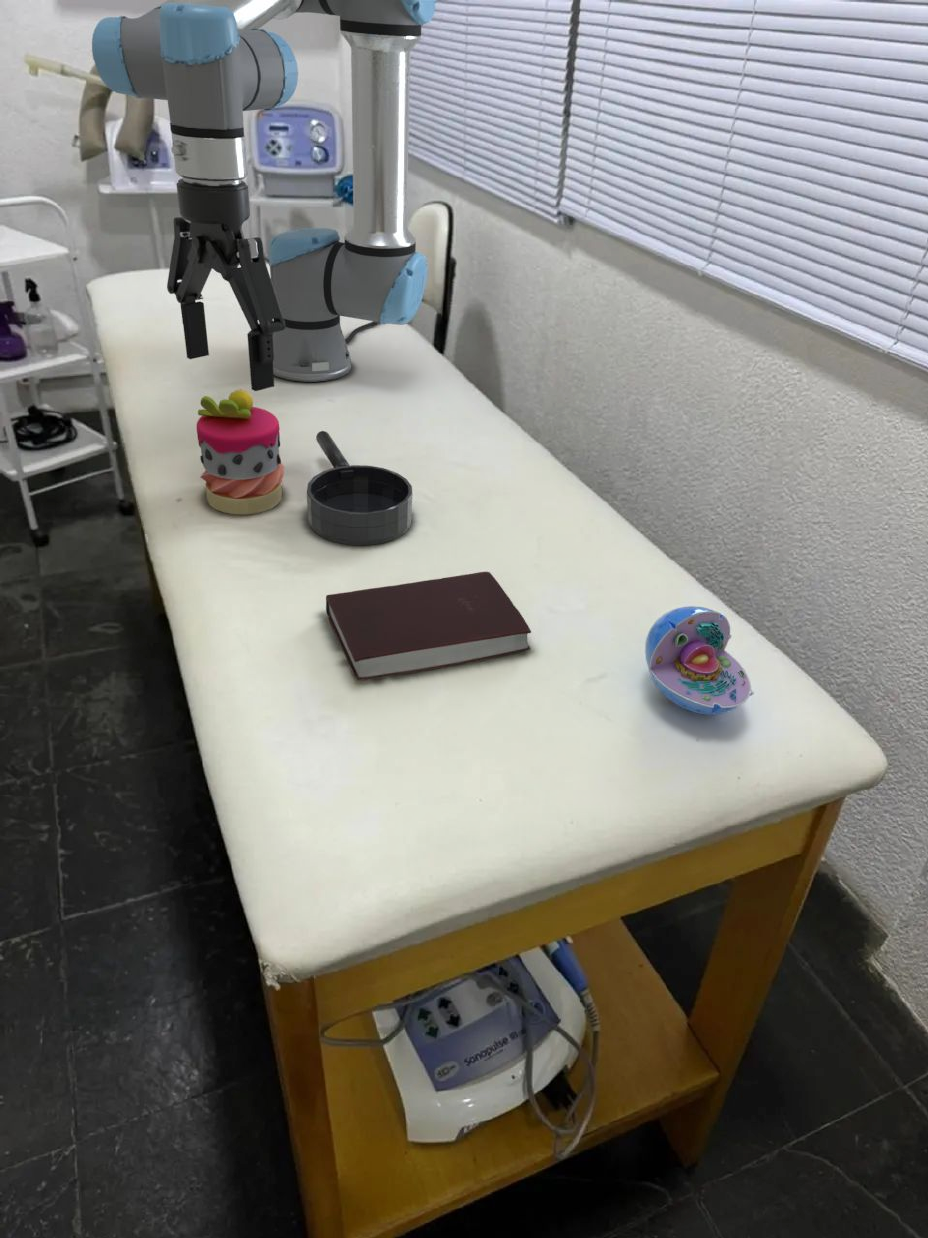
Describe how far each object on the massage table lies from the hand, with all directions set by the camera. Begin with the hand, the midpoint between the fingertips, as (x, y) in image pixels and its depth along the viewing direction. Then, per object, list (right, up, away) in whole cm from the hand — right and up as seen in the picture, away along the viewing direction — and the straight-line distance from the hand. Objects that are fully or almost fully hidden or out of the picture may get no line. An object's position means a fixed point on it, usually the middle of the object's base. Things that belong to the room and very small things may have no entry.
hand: (229, 371), depth 104 cm
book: (+25, -32, -12) cm, 42 cm away
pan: (+15, -17, +7) cm, 24 cm away
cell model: (+52, -38, -17) cm, 67 cm away
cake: (-1, -14, +10) cm, 17 cm away
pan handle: (+11, -8, +15) cm, 20 cm away
